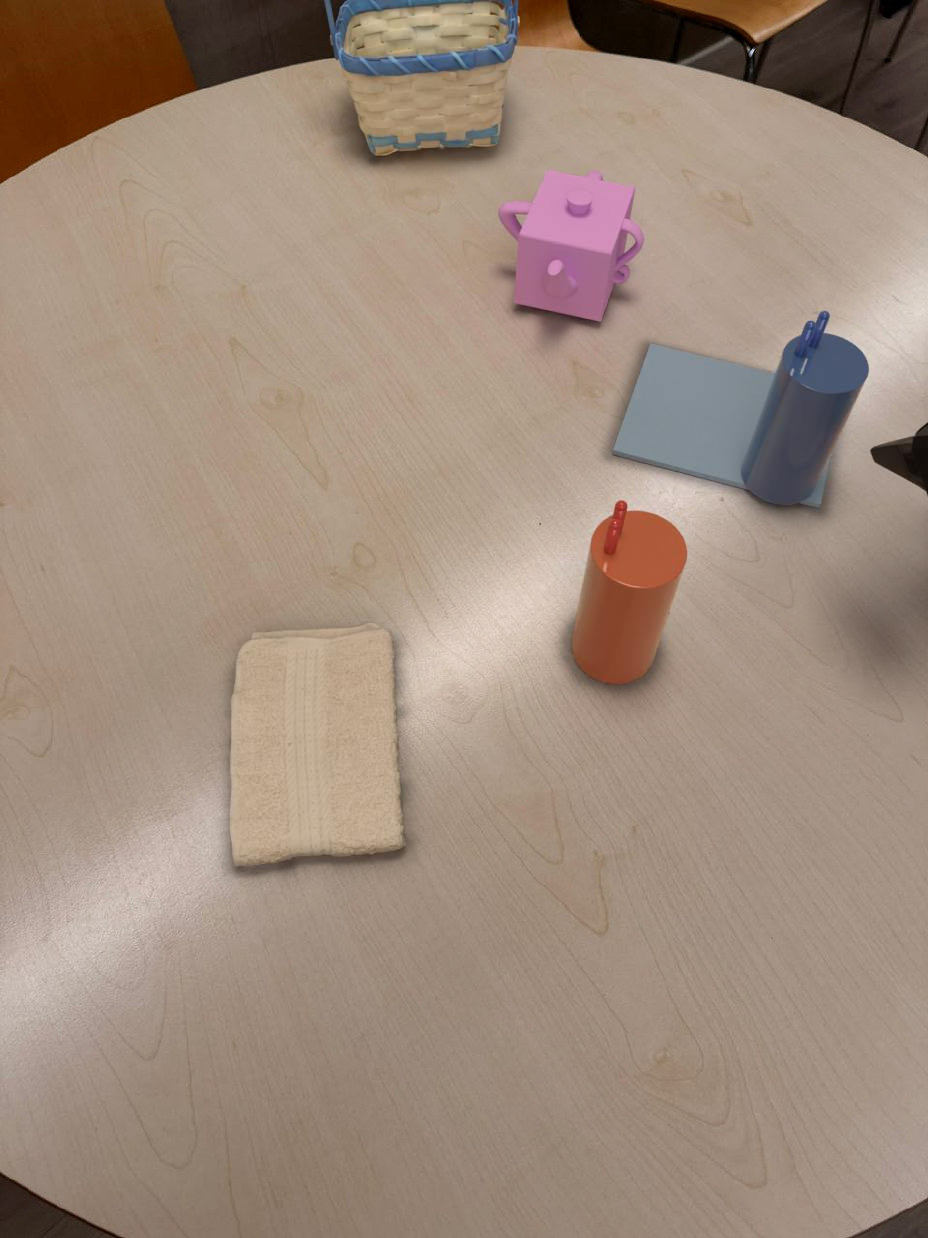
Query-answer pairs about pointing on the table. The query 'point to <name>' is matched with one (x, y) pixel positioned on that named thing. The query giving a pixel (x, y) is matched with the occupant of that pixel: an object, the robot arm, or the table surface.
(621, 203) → the teapot
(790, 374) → the blue spoon jar
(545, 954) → the table surface
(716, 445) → the blue mat
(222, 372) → the table surface
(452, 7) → the basket
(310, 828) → the washcloth
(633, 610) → the red spoon jar
